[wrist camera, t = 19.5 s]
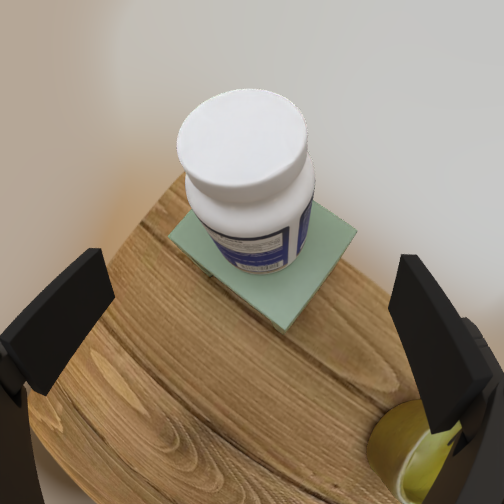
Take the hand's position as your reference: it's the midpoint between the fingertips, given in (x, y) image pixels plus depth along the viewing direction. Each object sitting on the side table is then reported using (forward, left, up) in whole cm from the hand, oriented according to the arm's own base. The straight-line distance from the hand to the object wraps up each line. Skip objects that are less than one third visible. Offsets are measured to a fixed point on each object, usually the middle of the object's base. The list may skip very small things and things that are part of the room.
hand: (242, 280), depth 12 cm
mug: (+19, -8, -15) cm, 26 cm away
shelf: (-1, +4, -15) cm, 16 cm away
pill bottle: (-1, +4, -6) cm, 7 cm away
